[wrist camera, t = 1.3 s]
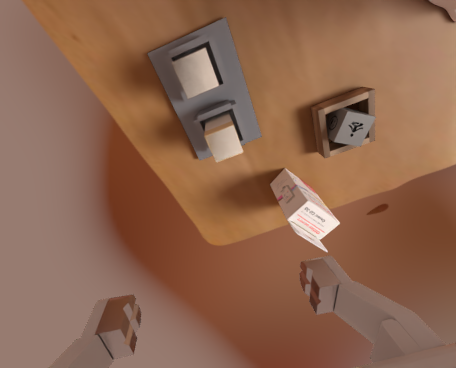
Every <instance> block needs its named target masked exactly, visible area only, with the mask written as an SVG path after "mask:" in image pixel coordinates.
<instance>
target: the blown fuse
mask: <svg viewBox="0 0 456 368" xmlns="http://www.w3.org/2000/svg"><path fill="white" fill-rule="evenodd" d="M171 63H172V65H173V68H174V70H175V72H176V74H177V77H178V79H179V81H180V83H181V85H182V88H183V90H184V92H185V94H186V97H187V99H190V98H192V97H195V96H197V95H199V94H202V93H204V92H206V91H209V90H211V89H214V88H216V87H218V86H219V83H218V80H217V77H216V75H215V72H214V69H213V66H212V64H211V61H210V58H209V55H208V52H207V50H206V47H205V48H202V49H200V50H198V51H196V52H194V53H191V54H189V55H187V56H185V57H182V58H180V59H178V60H176V61H173V62H171Z"/></svg>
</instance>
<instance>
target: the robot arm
mask: <svg viewBox="0 0 456 368" xmlns="http://www.w3.org/2000/svg"><path fill="white" fill-rule="evenodd" d="M429 1H430V2H431V3H433V4H435V5H437V6H440V7H443V8H444V9H446V10H447V12H448V14H449V15H450V17H451V18H452V20H453V21H454V22H456V0H429ZM300 268H301V269H302V271H301V272H300V283H301V286H302V289H303V291H304V293H305V294H307V295H308V296H310V299H309V302H310V304H311V306H312V307H313V309H314V311H315V313H316V314H322V313H327V312H333V311H334V313H335V314H337V315H338V316H339V317H340V318H342V319H343V320H344V321H345V322H347V323H348V324H349V325H350V326H352V327H353V328H354V329H355V330H357V331H358V332H359V333H360V334H362V335H363V336H364V337H366V338H367V339H368V340H369V341H370V342H372V343H373V344H374V346H373V349H372V352H371V355H370V359H371V360H372V362H373V363H370V364H366V365H362V366H358V367H355V368H456V343H452V344H448V345H446V344H445V343H444V342H443V341H442V340H441V339H440V338H439V337H438V336H437V335H436V334H435V333H434V332H433V331H432V330H431V329H430V328H429V327H428V326H427V325H426V324H425V323H424V322H423V321H422V320H421V319H420V318H419V317H418V315H417V314H416V313H414V312H413V311H411V310H409V309H407V308H405V307H403V306H401V305H399V304H397V303H396V302H394V301H392V300H390V299H388V298H386V297H384V296H382V295H380V294H379V293H377V292H375V291H373V290H371V289H369V288H367V287H365V286H364V285H362V284H360V283H358V282H356V281H354V282H353V281H352V280H351V279H350V278H349V277H348V275H347V274H346V273H345V272H344V270H343V269H342V268H341V267H340V266H339V264H338V263H337V262H336V261H335V259H334V258H333V257H332V256H326V257H321V258H315V259H310V260H305V261H302V262H301V263H300ZM135 302H136V298H135V296H134V294H133V295H126V296H119V297H114V298H109V299H103V300H99V301H98V302H97V303H96V304H95V306H94V308H93V311H92V313H91V315H90V317H89V320H88V322H87V324H86V326H85V329H84V331H83V334H82V336H81V338H79V339H76V340H75V341H74V342H73V343H72V344H71V345H70V346H69V347H68V348H67V349H66V350H65V351H64V352H63V353H62V354H61V355H60V356H59V358H57V359H56V360H55V362H54V363H53V364H52V365H51V366H50V367H49V368H109V367H110V365H111V364H112V362H113V360H114V359H118V358H122V357H126V356H129V355H133V354H134V351H135V346H136V342H137V336H136V334H135V333H136V331H137V330H138V329H139V327H140V323H141V310H140V307H139V305H137V304H135Z"/></svg>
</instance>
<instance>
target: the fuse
mask: <svg viewBox="0 0 456 368" xmlns="http://www.w3.org/2000/svg"><path fill="white" fill-rule="evenodd" d="M204 137H205V139H206V141H207V143H208V146H209V148H210V150H211V152H212V154H213V157H214V159H215V161H216V163H217V162H219V161H222V160H225V159H227V158H230V157H232V156H235V155H238V154H240V153H243V149H242V146H241V144H240V141H239V138H238V135H237V133H236V130H235V127H234V124H233V121H232V120H231V117H230V114H229V111H228V110H227V111H225V112H222V113H220V114H217V115H215V116H212V117H210V118H207V119H206V122H205V133H204Z"/></svg>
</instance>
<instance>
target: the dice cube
mask: <svg viewBox="0 0 456 368" xmlns="http://www.w3.org/2000/svg"><path fill="white" fill-rule="evenodd" d="M375 118H376V117H375V116H372V115H369V114H367V113H364V112H361V111H359V110H355V109H350V108H345V107H343V108H341V109H338V110H335V111H333V112H330V113H329V114H328V116H327V118H326V126H327V134H328V138H329V139H330V140H332V141H333V142H337V143H343V144H348V145H354V146H360V147H361V145H362V143H363V141H364V139H365V137H366V135H367V133H368V131H369V129H370V127H371V126H372V124H373V122H374V120H375Z"/></svg>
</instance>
